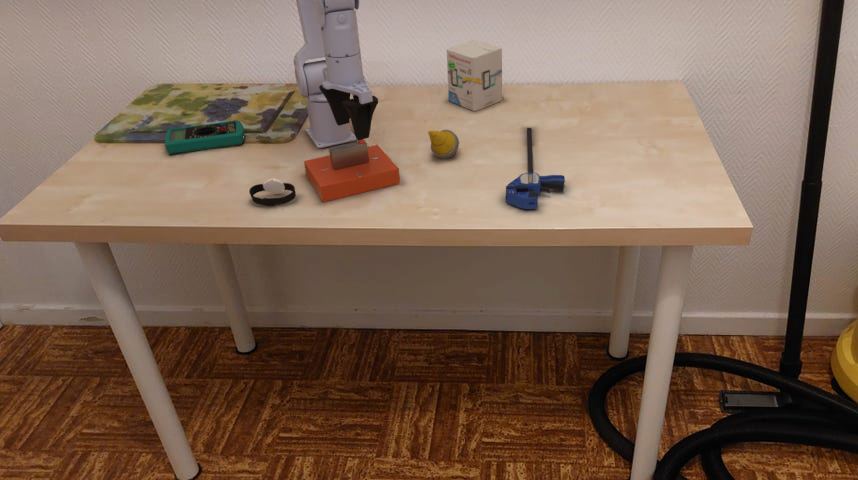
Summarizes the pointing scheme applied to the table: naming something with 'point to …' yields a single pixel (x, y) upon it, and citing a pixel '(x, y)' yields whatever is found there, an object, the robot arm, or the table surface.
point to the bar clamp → (531, 183)
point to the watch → (273, 192)
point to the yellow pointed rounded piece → (443, 143)
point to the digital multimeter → (204, 137)
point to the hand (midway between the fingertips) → (352, 130)
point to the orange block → (351, 175)
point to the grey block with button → (349, 154)
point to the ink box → (474, 75)
